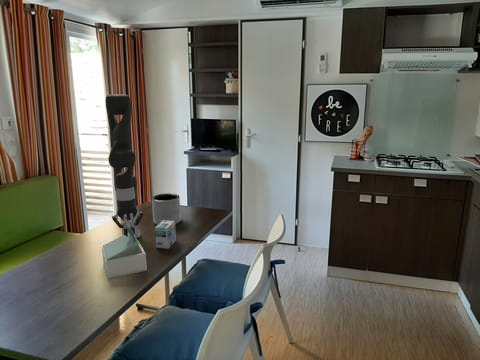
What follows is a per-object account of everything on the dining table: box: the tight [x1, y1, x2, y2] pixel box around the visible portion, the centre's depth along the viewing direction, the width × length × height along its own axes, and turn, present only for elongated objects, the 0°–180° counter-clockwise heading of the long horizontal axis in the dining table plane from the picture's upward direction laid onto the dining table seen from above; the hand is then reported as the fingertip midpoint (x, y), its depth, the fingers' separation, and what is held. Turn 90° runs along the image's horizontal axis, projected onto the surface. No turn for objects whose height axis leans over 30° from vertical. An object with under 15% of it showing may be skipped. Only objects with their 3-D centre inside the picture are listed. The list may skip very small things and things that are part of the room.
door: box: [102, 223, 140, 260], centre depth 156 cm, size 15×14×6 cm
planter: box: [151, 192, 182, 226], centre depth 213 cm, size 16×16×16 cm
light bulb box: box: [154, 220, 177, 249], centre depth 182 cm, size 11×7×11 cm, turn 168°
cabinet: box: [101, 240, 148, 280], centre depth 159 cm, size 16×16×8 cm
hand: (129, 235), depth 158 cm, fingers closed on door, 2 cm apart
